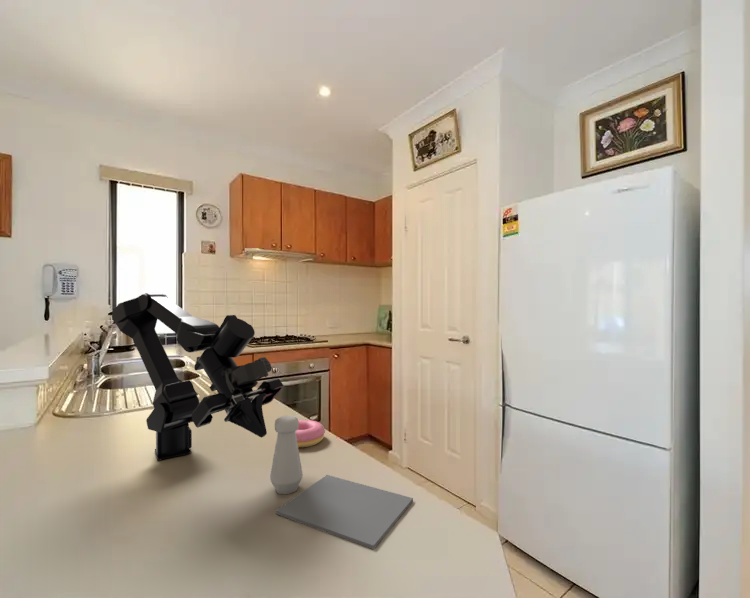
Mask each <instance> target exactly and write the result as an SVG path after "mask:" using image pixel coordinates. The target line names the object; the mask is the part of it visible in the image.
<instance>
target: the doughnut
mask: <svg viewBox="0 0 750 598" xmlns="http://www.w3.org/2000/svg"><path fill="white" fill-rule="evenodd" d="M298 423H299V426H298V430H297V431H295V432H296V438H297V444H298V449H299V447H302V448H308V447H313V446H315V445H318V444H319V443H320V442H321V441H322V440H323V438H324V437H325V433H326V430H325V426H324V425H323V424H322V423H320V422H319V421H317V420H312V419H310V420H309V419H301V420H300V419H298Z"/></svg>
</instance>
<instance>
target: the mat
mask: <svg viewBox="0 0 750 598" xmlns="http://www.w3.org/2000/svg"><path fill="white" fill-rule="evenodd" d="M413 502H414V497H410V496H407V495H402V494H399V493H395V492H392V491H388V490H386V489H385V490H384V489H382V488H381V489H380V488H377V487H374V486H370V485H366V484H362V483H359V482H354V481H351V480H348V479H345V478H340V477H336V476H333V475H330V474H326V475H324V476H323V477H322V478H320V479H319V480H318V481H316V482H315V483H313V484H312V485H310V486H309V487H308V488H306V489H305V490H303V491H302V492H300V493H298V495H296V496H294V497H293V498H292V499H290V500H289V501H288V502H286V503H284V504H283V505H282V506H280V507H278V508H277V509H276V510H275V514H276V515H278V516H281V517H284V518H285V519H288V520H289V519H290V520H292V521H295V522H297V523H300V524H302V525H306V526H308V527H311V528H314V529H316V530H320V531H323V532H325V533H328V534H330V535H333V536H336V537H339V538H342V539H344V540H348V541H350V542H352V543H355V544H357V545H361V546H364V547H366V548H369V549H371V550H374V549H376V547H377V546H378V545H379V543H380V542H381V541H382V540H383V538H384V537H385V536H386V535H387V534H388V533H389V531H390V530H391V529H392V528H393V527H394V525H395V524H396V522H398V520H399V519H400V517H401V516H402V515H403V514H404V513H405V512H406V511H407V509H408V508H409V507H410V506H411V504H412V503H413Z"/></svg>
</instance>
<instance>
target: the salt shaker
mask: <svg viewBox="0 0 750 598" xmlns="http://www.w3.org/2000/svg"><path fill="white" fill-rule="evenodd" d="M298 421H299V419H298V417H297V416H294V415H283V416H278V417H277V418H276V419H275V420H274V431H275V432H276V433H277V435H276V441H275V442H276V443H275V447H274V453H273V459H272V464H271V470H270V476H269V478H270V479H269V480H270V482H271V484H272V486H273V487H274V489H275V491H276V493H277V494H280V495H289V494H291V493H294V492H297V491H298V487H299V485H300V483H301V482H302V479H303V470H302V469H303V468H302V463H301V456H300V450H299V448H298V444H297V438H296V432H295V431H297V430H298V426H299V423H298Z"/></svg>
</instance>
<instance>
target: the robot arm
mask: <svg viewBox="0 0 750 598" xmlns="http://www.w3.org/2000/svg"><path fill="white" fill-rule="evenodd" d="M111 317H112V320H113V321H114V323H115V325H116V326H117V328H118V330H119V331H120V332H121V333H123V334H124V335H126V336H128V337H129V338H130V339H132V340H133V343H134V345H135V347H136V349H137V352H138V354H139V356H140V358H141V361H142V363H143V365H144V367H145V369H146V372H147V374H148V376H149V378H150V380H151V383H152V385H153V387H154V390H155V392H154V396H153V401H152V406H153V410H152V411H151V413H150V414H149V415H148V417H147V418H146V420H145V421H146V426H147V429H148V430H149V431H153V432H155V448H154V453H155V457H156V459H157V461H163V460H166V459H167V460H168V459H171V458H176V457H179V456H184V455H189V454H191V452H192V451H191V449H192V445H193V443H192V442H193V441H192V433H193V432H192V429H191V427H190V426H189V425H190V424H189V423H193V424H194V426H195V427H196V428H200V427H204V426H206V425H209V424H211V423H212V420H213V418H214V417H213V414H216V413H219V412H222V411H224V412H225V414H226V416H225V418H224V422H225V423H226V422H227V423H228V422H230V423H232V424H233V425H236V426H239V427H241V428H242V429H244V430H247V431H249V432H250V433H252V434H254V435H255V436H258V437H259V438H261V439H262V438H263V437H266V435H267V434H268V433H267V431H268V430H267V428H266V422H265V417H264V413H263V406H265V405H268V404H270V403H271V402H273V401H274V399H275V398H276V397H277V396H278V395H279V393H280V392H281V391H282V390H283V389H284V387H285V385H284V384H283V382H282V381H281V380H280V378H272V379H271V378H270V379H267V380H263V381H262V382H261V384H260V385H259V386H258V387H257V389H255V390H254V389H253V388H255V387H256V386H257V385H258V381H259V380H260V379H263V378H267V377H268V376H269V373H270V372H271V371H272V364H271V363H270V361H269V360H268V359H267V358H266V357H259V358H258V359H256V360H254V361H252V362H248V363H245V364H243V365H242V364H241V365H238V364H237V362H236V361H235V360H234V358H237V357H239V356H240V355H241V354H242V353H243V351H245V350H244V349H246V347H247V346H248V344H249V343H250V342H251V340H252V339H253V338H254V336H255V329H254V327H253V326H252V325H251V324H250V323H248V322H247V321H245V320H243V319H240V318H238V317H237V316H236V314H230V315H229V314H228V315H225V317H224V318H223V321H222V323H221V324H220V326H219V324H217V323H215V322H213V321H210V320H208V319H202V318H197V317H195V316H193V315H192V314H190V313H189V312H187V311H186V310H185V309H183V308H182V307H180V306H179V305H178V304H176V303H175V302H174V301H172V300H171V299H169V297H168V295H166V294H164V293H161V292H160V293H159V292H158V293H157V292H154V293H153V292H145V293H143V294H140V295H139V296H138V297H135V298H131V299H128V300H125V301H123V302H120V303H118V304H117V305H116V306H115V307H114V308H113V309H112V313H111ZM158 321H159V322H160V323H163V325H165V326H166V327H168V328H169V329H170V330H171V331H172V332H173V333H175V335H176V342H177V343H178V345H179V346H181V348H182V349H183V350H184V351H185V352H187V353H198V352H202V353H201V355H200V356H197V357H196V360H195V361H196V362H195V363H194V367H193V368H194V370H195V371H199V370H204V372H205V374H206V376H207V377H208V379H209V381H210V382H211V385H210V386H209V389H210V390H211V392H215V391H216V392H217V393H214V394H211V395H207V396H205V397H202V399H201V400H200V399H199V397H198V395H199V393H198V392H197V391H196V389H195V388H194V384H193V383H192V382H191V380H190V379H188V380H184V381H183V380H181V379H180V378H179V377H178V374H177V373H176V370H175V369H174V366H173V364H172V363H171V360H170V358H169V356H168V354H167V352H166V350H165V347H164V345H163V344H162V341H161V340H160V338H159V336H158V333H157V331H156V325H157V322H158Z"/></svg>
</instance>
